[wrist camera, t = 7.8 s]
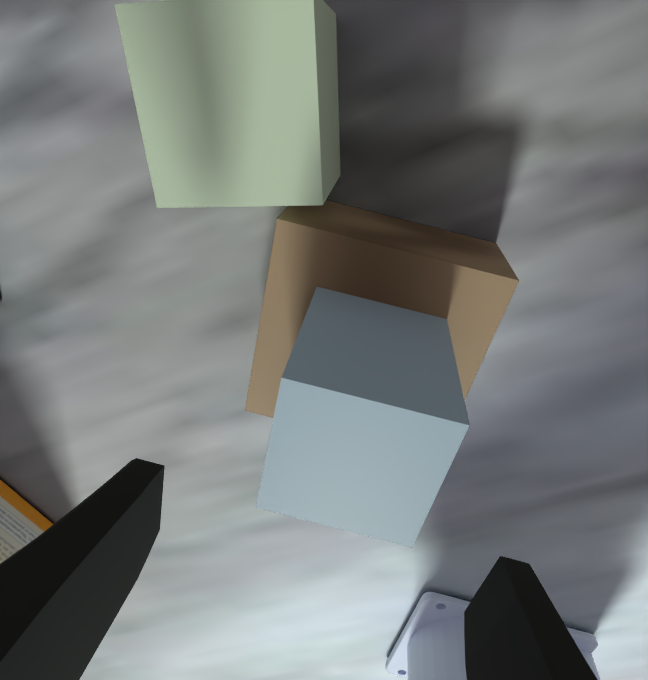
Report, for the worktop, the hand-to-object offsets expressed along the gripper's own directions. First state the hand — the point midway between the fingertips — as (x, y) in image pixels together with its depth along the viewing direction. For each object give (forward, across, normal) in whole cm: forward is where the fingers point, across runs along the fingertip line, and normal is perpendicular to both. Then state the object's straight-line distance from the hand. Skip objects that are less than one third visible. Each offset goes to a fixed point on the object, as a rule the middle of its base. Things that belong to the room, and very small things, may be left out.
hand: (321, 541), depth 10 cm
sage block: (+10, +5, -7) cm, 13 cm away
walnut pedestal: (+10, 0, -1) cm, 10 cm away
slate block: (+6, 0, -1) cm, 6 cm away
